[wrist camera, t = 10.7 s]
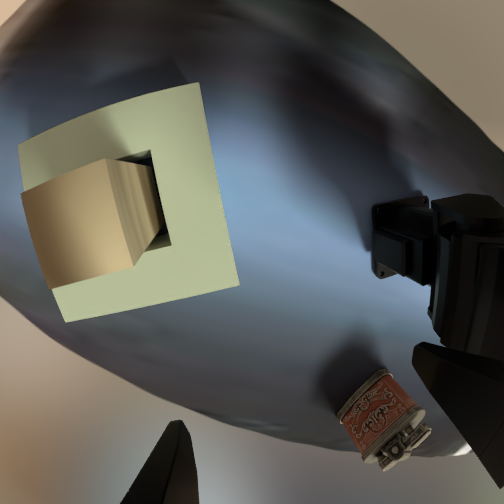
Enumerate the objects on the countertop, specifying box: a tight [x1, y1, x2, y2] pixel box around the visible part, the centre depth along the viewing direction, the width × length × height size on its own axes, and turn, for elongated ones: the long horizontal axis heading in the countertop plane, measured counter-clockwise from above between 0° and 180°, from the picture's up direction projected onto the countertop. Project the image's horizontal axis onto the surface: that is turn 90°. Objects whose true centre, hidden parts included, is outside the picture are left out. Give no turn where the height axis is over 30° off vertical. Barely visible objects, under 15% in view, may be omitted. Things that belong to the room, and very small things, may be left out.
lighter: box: [337, 369, 431, 471], centre depth 23 cm, size 8×3×10 cm, turn 144°
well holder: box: [18, 82, 239, 322], centre depth 16 cm, size 12×12×4 cm
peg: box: [21, 158, 165, 290], centre depth 14 cm, size 4×4×10 cm
